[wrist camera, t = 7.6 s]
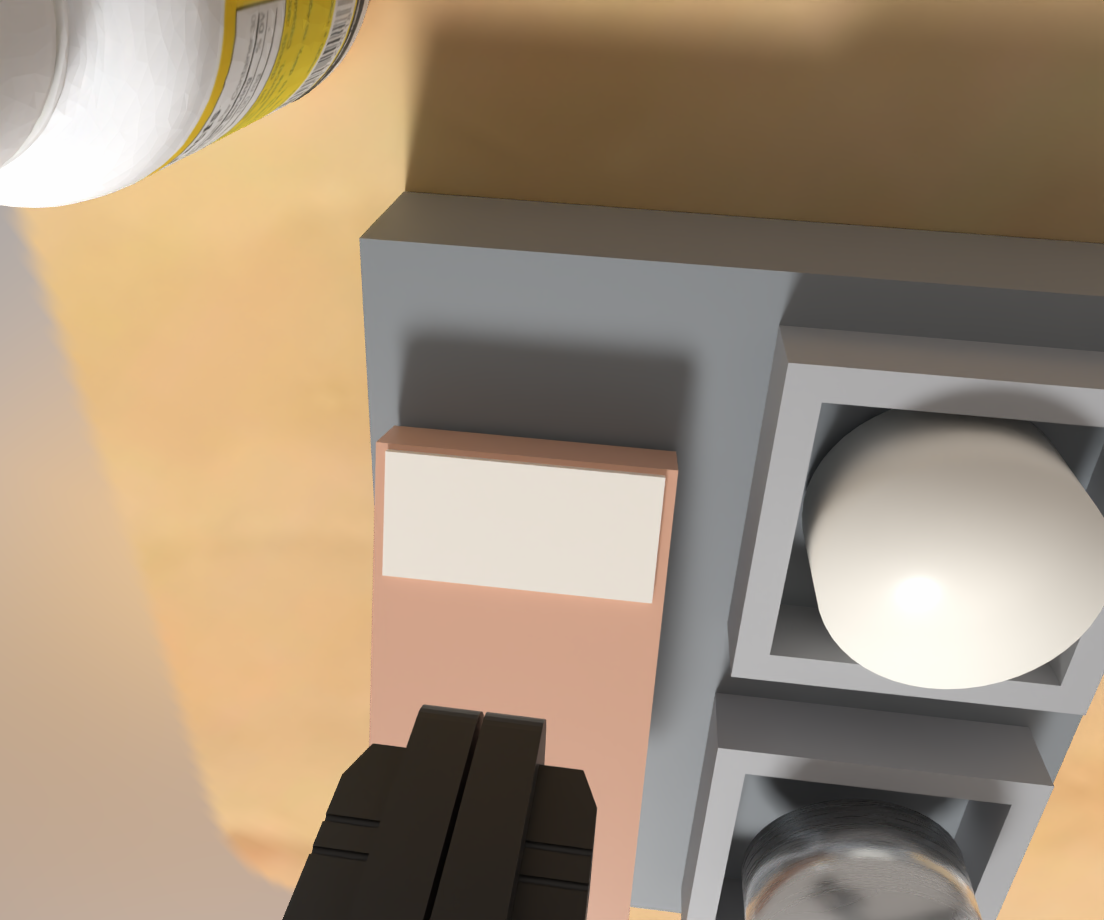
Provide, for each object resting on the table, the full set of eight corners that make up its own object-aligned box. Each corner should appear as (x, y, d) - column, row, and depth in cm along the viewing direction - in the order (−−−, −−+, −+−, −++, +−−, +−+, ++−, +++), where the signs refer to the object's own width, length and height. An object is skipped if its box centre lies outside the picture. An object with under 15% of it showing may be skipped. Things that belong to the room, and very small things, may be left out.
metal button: (990, 813, 18) (1023, 907, 17) (935, 953, 21) (958, 1050, 19) (758, 786, 19) (767, 875, 17) (728, 927, 21) (732, 1019, 19)
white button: (1105, 411, 15) (1158, 474, 14) (1025, 624, 18) (1063, 703, 16) (826, 387, 16) (845, 446, 14) (782, 599, 18) (794, 673, 16)
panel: (1172, 248, 17) (1316, 347, 13) (948, 844, 25) (998, 1014, 21) (404, 191, 18) (330, 267, 14) (422, 781, 26) (378, 933, 22)
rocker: (676, 451, 17) (678, 472, 15) (624, 927, 19) (621, 980, 18) (394, 425, 17) (373, 444, 16) (381, 896, 20) (362, 945, 19)
